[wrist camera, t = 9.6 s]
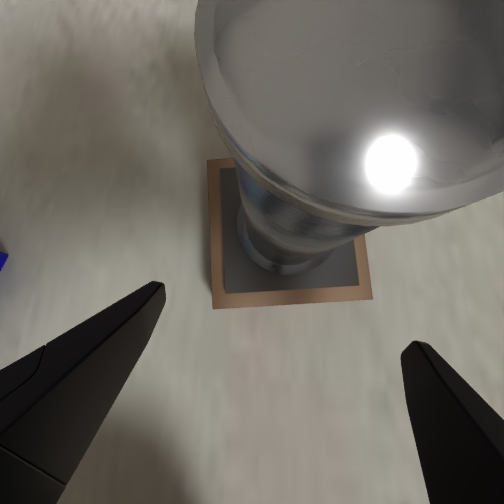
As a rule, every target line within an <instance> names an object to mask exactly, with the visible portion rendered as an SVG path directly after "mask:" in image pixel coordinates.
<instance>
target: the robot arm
mask: <svg viewBox="0 0 504 504" xmlns="http://www.w3.org/2000/svg"><path fill="white" fill-rule="evenodd" d="M165 302H166V293H165V285H164V283H162V282H157V281H151V282H149V283H148V284H146V285H144V286H143V287H141V288H139V289H138V290H136V291H134V292H133V293H131V294H129V295H128V296H126V297H124V298H122V299H121V300H119V301H117V302H116V303H114V304H112V305H111V306H109V307H107V308H106V309H104V310H102V311H101V312H99V313H97V314H96V315H94V316H92V317H90V318H89V319H87V320H85V321H84V322H82V323H80V324H79V325H77V326H75V327H74V328H72V329H70V330H69V331H67V332H65V333H63V334H62V335H60V336H58V337H57V338H55V339H53V340H52V341H50V342H48V343H47V344H46V346H45V345H43V346H41V347H40V348H38V349H36V350H35V351H33V352H31V353H30V354H28V355H26V356H24V357H23V358H21V359H19V360H17V361H16V362H14V363H12V364H10V365H9V366H7V367H5V368H3V369H1V370H0V504H56V503H57V501H58V500H59V498H60V496H61V494H62V493H63V491H64V489H65V487H66V486H65V485H67V484H68V482H69V480H70V478H71V477H72V475H73V473H74V471H75V470H76V468H77V466H78V464H79V463H80V461H81V459H82V457H83V456H84V454H85V452H86V450H87V449H88V447H89V445H90V443H91V442H92V440H93V438H94V436H95V435H96V433H97V431H98V429H99V428H100V426H101V424H102V422H103V421H104V419H105V417H106V415H107V414H108V412H109V410H110V408H111V407H112V405H113V403H114V401H115V400H116V398H117V396H118V394H119V393H120V391H121V389H122V387H123V386H124V384H125V382H126V380H127V379H128V377H129V375H130V373H131V372H132V370H133V368H134V366H135V365H136V363H137V361H138V359H139V358H140V356H141V354H142V352H143V351H144V349H145V347H146V345H147V343H148V341H149V339H150V337H151V335H152V332H153V330H154V328H155V326H156V323H157V321H158V319H159V316H160V314H161V312H162V309H163V307H164V305H165ZM401 367H402V374H403V382H404V390H405V397H406V403H407V408H408V413H409V417H410V421H411V425H412V430H413V434H414V438H415V442H416V447H417V451H418V455H419V459H420V464H421V468H422V472H423V476H424V480H425V485H426V489H427V493H428V497H429V502H430V504H504V420H503V419H502V418H501V417H500V416H499V415H498V414H497V413H496V412H495V411H494V410H493V409H492V408H491V407H490V406H489V405H488V404H487V403H486V402H485V401H484V399H483V398H482V397H481V396H480V395H479V394H478V393H477V392H476V391H475V390H474V389H473V388H472V387H471V386H470V385H469V384H468V383H467V382H466V381H465V380H464V379H463V378H462V377H461V376H460V375H459V374H458V373H457V372H456V371H455V370H454V369H453V368H452V367H451V366H450V365H449V364H448V363H447V362H446V361H445V360H444V359H443V358H442V357H441V356H440V355H439V354H438V353H437V352H436V351H435V350H434V349H433V348H432V347H431V346H430V345H429V344H428V343H425V342H421V341H413V342H411V343H410V344H409V346H408V347H407V348H406V349H405V350H404V351H403V352H402V354H401Z"/></svg>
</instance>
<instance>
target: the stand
mask: <svg viewBox="0 0 504 504" xmlns="http://www.w3.org/2000/svg"><path fill="white" fill-rule="evenodd" d="M207 171H208V198H209V225H210V252H211V278H212V305H213V309H225V308H241V307H258V306H274V305H290V304H306V303H322V302H339V301H355V300H371V299H373V296H372V288H371V281H370V273H369V265H368V258H367V250H366V243H365V235H364V234H363V235H361V236H359V237H357V238H355V239H353V240H351V241H349V242H347V243H345V244H343V245H340V246H338V247H336V248H335V249H334V251H333V252H332V254H331V255H330V256H329V258H328V259H327V260H326V261H325V262H323V263H322V264H321V265H319V266H318V267H316V268H314V269H313V270H310V271H308V272H305V273H301V274H297V275H279V274H274V273H271V272H269V271H266V270H264V269H262V268H261V267H259V266H258V265H257V264H255V263H254V262H253V261H252V260H251V259H250V258H249V257H248V255H247V254H246V252H245V251H244V249H243V247H242V244H241V242H240V239H239V236H238V231H237V216H238V211H239V208H240V205H241V203H242V201H241V196H240V190H239V184H238V179H237V173H236V167H235V162H234V158H231V159H216V160H207Z"/></svg>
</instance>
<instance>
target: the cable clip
mask: <svg viewBox="0 0 504 504" xmlns="http://www.w3.org/2000/svg"><path fill="white" fill-rule="evenodd" d="M7 257H8V254H5V253H3V252H0V271H1V269H2V267H3V265H4V263H5V261H6V259H7Z"/></svg>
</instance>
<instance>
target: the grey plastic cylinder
mask: <svg viewBox="0 0 504 504" xmlns="http://www.w3.org/2000/svg"><path fill="white" fill-rule="evenodd" d="M194 36H195V46H196V56H197V61H198V65H199V68H200V72H201V76H202V80H203V84H204V88H205V92H206V96H207V99H208V103H209V107H210V111H211V115H212V117H213V120H214V122H215V125H216V127H217V130H218V132H219V134H220V136H221V138H222V139H223V141H224V143H225V144H226V146H227V148H228V150H229V151H230V153H231V154H232V155H233V156H234V162H235V167H236V173H237V179H238V184H239V190H240V196H241V201H242V203H241V205H240V208H239V211H238V216H237V231H238V236H239V239H240V242H241V244H242V247H243V249H244V251H245V252H246V254H247V255H248V257H249V258H250V259H251V260H252V261H253V262H254V263H255V264H257V265H258V266H259V267H261V268H262V269H264V270H266V271H269V272H271V273H274V274H279V275H297V274H301V273H305V272H308V271H310V270H313V269H314V268H316V267H318V266H319V265H321V264H322V263H323V262H325V261H326V260H327V259H328V258H329V256H330V255H331V254H332V252H333V251H334V249H335V248H336V247H338V246H340V245H343V244H345V243H347V242H349V241H351V240H353V239H355V238H357V237H359V236H361V235H363V234H365V233H367V232H369V231H372V230H374V229H376V228H378V227H380V226H395V225H404V224H412V223H416V222H420V221H424V220H428V219H432V218H435V217H438V216H441V215H443V214H446V213H449V212H451V211H454V210H456V209H459V208H462V207H464V206H467V205H469V204H472V203H475V202H477V201H480V200H482V199H485V198H487V197H490V196H492V195H495V194H497V193H500V192H502V191H504V0H198V4H197V9H196V14H195V33H194Z"/></svg>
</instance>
